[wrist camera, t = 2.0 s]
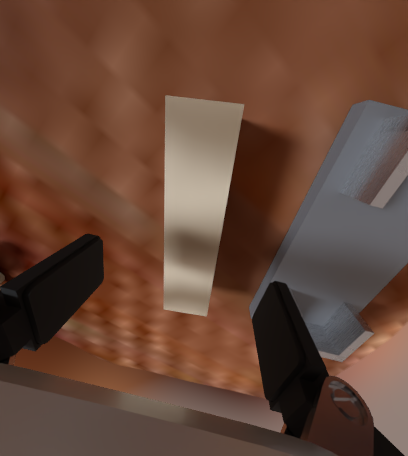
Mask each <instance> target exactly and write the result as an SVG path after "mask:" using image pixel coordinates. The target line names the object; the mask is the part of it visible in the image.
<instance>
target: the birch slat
mask: <svg viewBox="0 0 408 456" xmlns="http://www.w3.org/2000/svg"><path fill="white" fill-rule="evenodd" d="M243 109H244V104H236V103H228V102H219V101H210V100H201V99H193V98H184V97H175V96H166V95H165V211H164V309H165V310H171V311H177V312H183V313H189V314H195V315H201V316H207V312H208V306H209V300H210V295H211V289H212V283H213V278H214V272H215V267H216V261H217V255H218V250H219V244H220V238H221V233H222V227H223V221H224V216H225V210H226V205H227V199H228V193H229V188H230V182H231V176H232V171H233V165H234V159H235V154H236V148H237V143H238V137H239V131H240V126H241V120H242V114H243Z"/></svg>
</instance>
